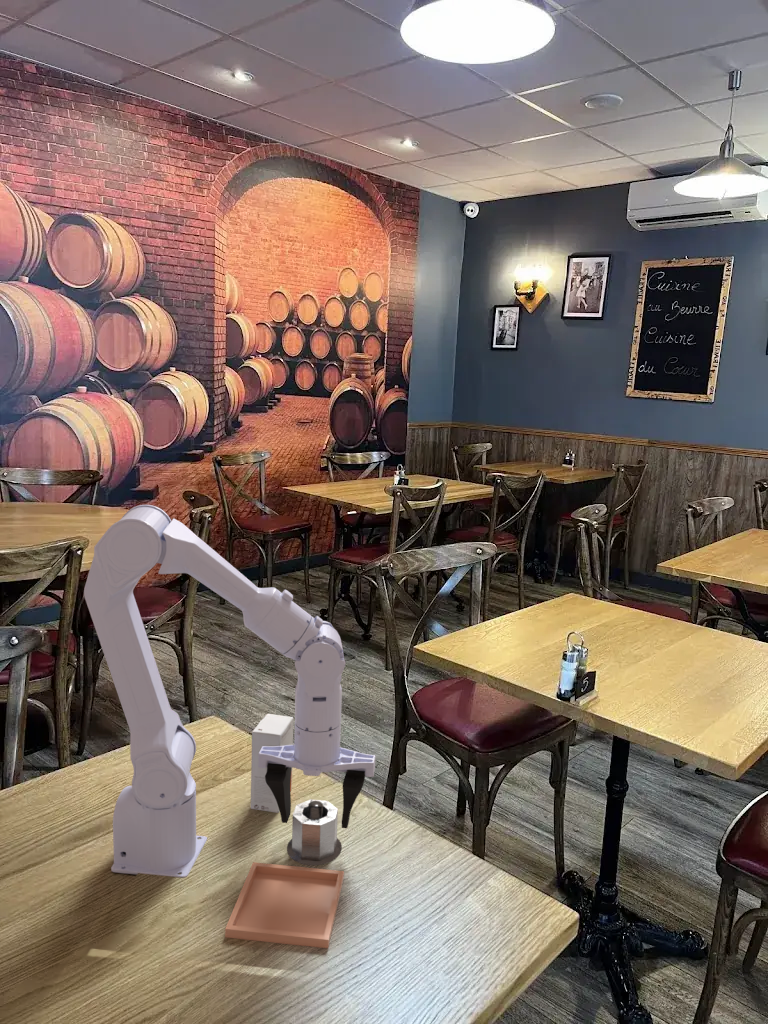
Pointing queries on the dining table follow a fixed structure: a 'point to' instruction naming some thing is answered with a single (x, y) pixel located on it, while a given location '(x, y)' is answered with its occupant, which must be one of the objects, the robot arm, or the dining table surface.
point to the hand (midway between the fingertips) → (315, 820)
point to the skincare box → (265, 734)
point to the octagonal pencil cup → (314, 832)
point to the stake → (316, 813)
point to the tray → (287, 905)
